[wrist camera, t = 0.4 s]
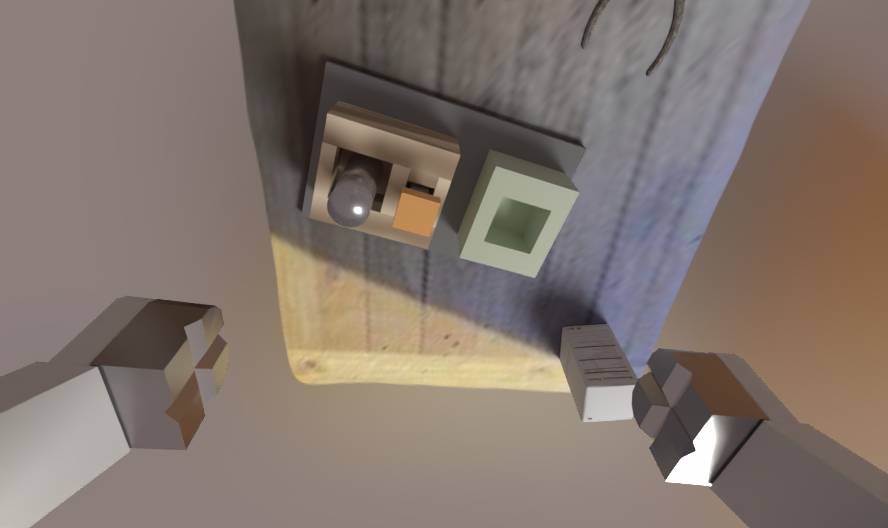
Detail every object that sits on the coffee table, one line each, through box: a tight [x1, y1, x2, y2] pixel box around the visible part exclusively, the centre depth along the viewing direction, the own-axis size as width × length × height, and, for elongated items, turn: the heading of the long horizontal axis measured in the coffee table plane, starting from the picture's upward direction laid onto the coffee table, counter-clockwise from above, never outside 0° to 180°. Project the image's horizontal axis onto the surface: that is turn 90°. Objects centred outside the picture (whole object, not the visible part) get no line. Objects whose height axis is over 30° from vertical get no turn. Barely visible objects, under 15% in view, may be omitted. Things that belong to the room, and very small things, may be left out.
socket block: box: [309, 101, 461, 249], centre depth 49 cm, size 12×14×6 cm
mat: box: [301, 61, 586, 275], centre depth 53 cm, size 19×31×1 cm, turn 72°
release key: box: [392, 184, 441, 237], centre depth 46 cm, size 4×4×6 cm
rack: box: [457, 149, 580, 278], centre depth 52 cm, size 12×10×6 cm
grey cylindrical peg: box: [327, 152, 383, 227], centre depth 45 cm, size 4×4×12 cm
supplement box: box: [560, 324, 638, 422], centre depth 63 cm, size 7×7×13 cm
